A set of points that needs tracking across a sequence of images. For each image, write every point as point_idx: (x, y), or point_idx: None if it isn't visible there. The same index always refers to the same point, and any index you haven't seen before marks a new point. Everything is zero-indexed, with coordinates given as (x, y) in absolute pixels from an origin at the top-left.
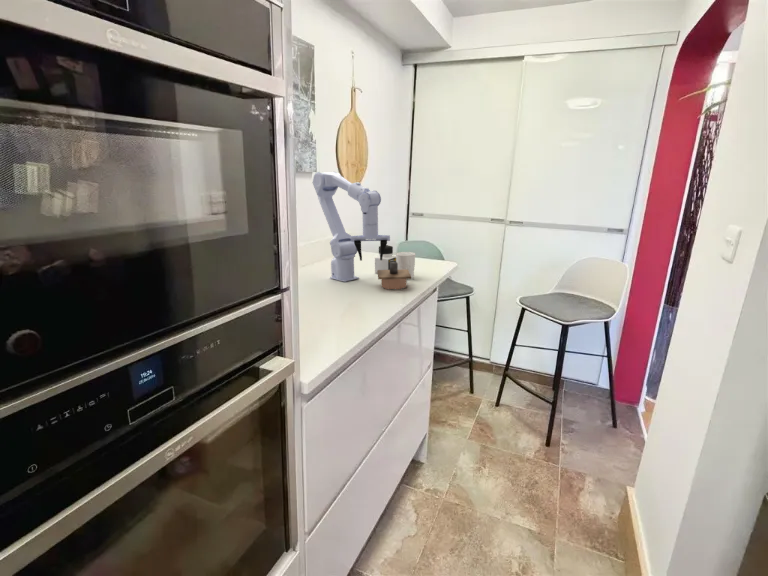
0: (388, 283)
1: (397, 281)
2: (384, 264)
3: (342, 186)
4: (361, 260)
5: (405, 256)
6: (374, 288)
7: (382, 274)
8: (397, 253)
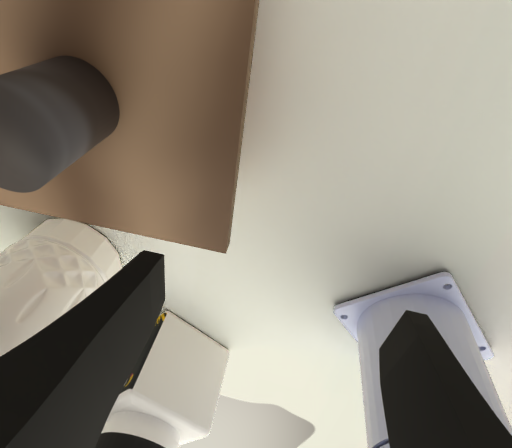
0: None
1: None
2: (167, 370)
3: None
4: (411, 311)
5: None
6: (299, 49)
7: (195, 74)
8: None
